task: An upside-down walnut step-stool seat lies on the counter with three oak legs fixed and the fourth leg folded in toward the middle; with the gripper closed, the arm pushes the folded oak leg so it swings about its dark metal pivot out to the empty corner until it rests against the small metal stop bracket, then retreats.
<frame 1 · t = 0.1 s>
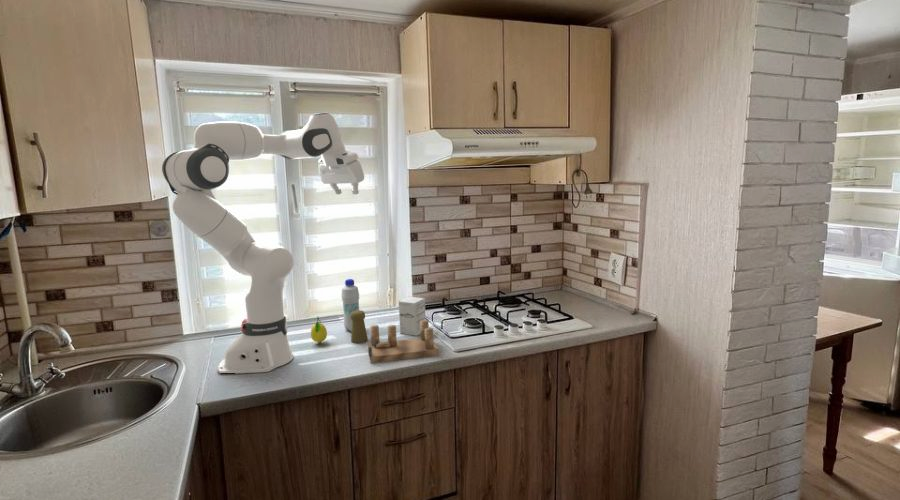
hand: (347, 193, 175), 52 cm above the worktop, tool tilted 20°, fingers open, 8 cm apart
bottle: (352, 330, 182), on the worktop
stool seat: (402, 352, 158), on the worktop
folding leg: (385, 336, 157), point 6 cm above the worktop, hinge at 0.0°
lemon: (319, 343, 169), on the worktop
cork: (359, 341, 170), on the worktop
supplement box: (413, 332, 177), on the worktop
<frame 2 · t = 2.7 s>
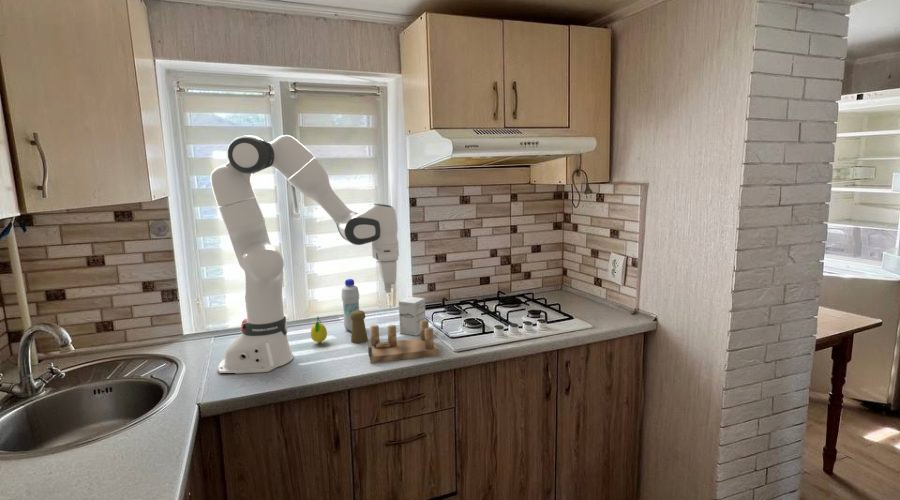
hand: (387, 291, 162), 19 cm above the worktop, tool pointing down, fingers closed
nothing on the worktop moved.
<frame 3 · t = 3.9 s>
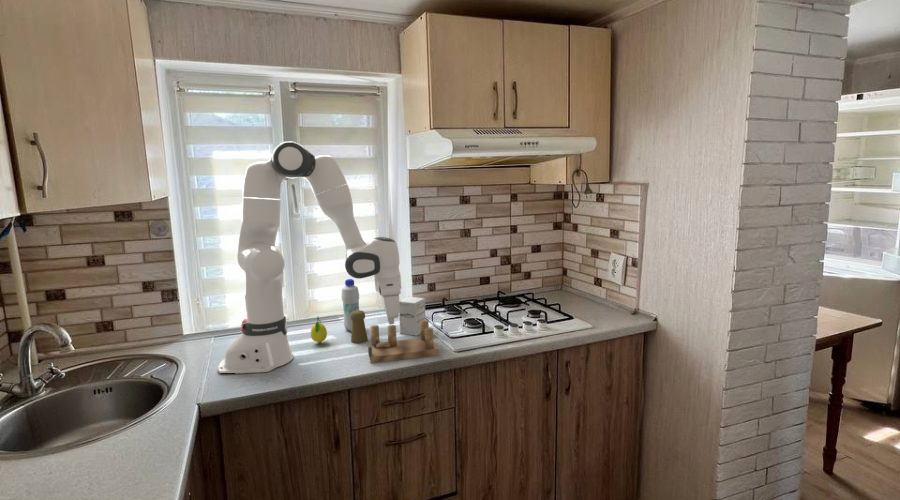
hand: (391, 323, 164), 8 cm above the worktop, tool pointing down, fingers closed
nothing on the worktop moved.
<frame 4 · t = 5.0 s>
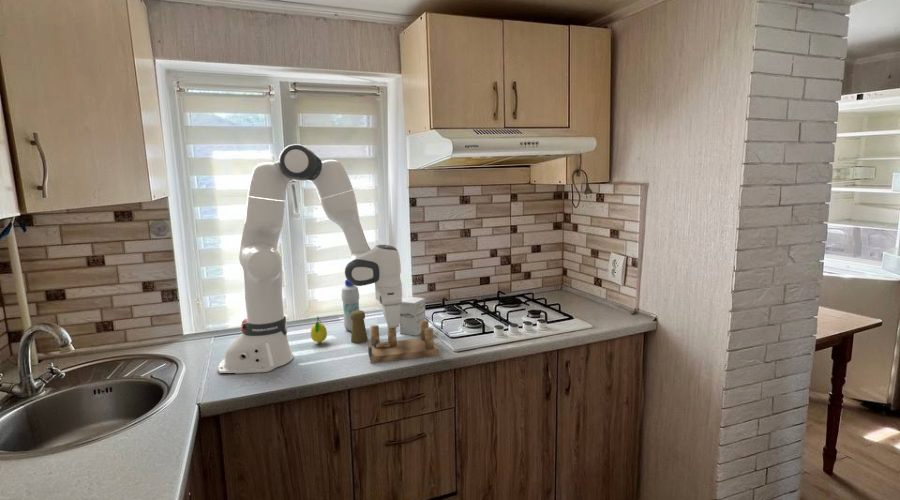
hand: (391, 332, 161), 6 cm above the worktop, tool pointing down, fingers closed
folding leg: (385, 336, 157), point 6 cm above the worktop, hinge at 0.2°, touching gripper
everything else where it was.
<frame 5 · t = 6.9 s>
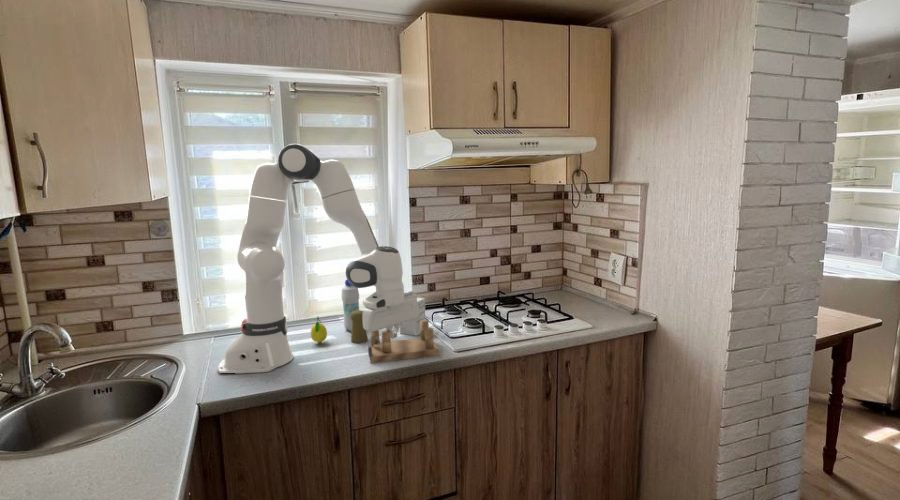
hand: (393, 337, 155), 6 cm above the worktop, tool pointing down, fingers closed
folding leg: (381, 339, 154), point 6 cm above the worktop, hinge at 55.9°, touching gripper
everything else where it was.
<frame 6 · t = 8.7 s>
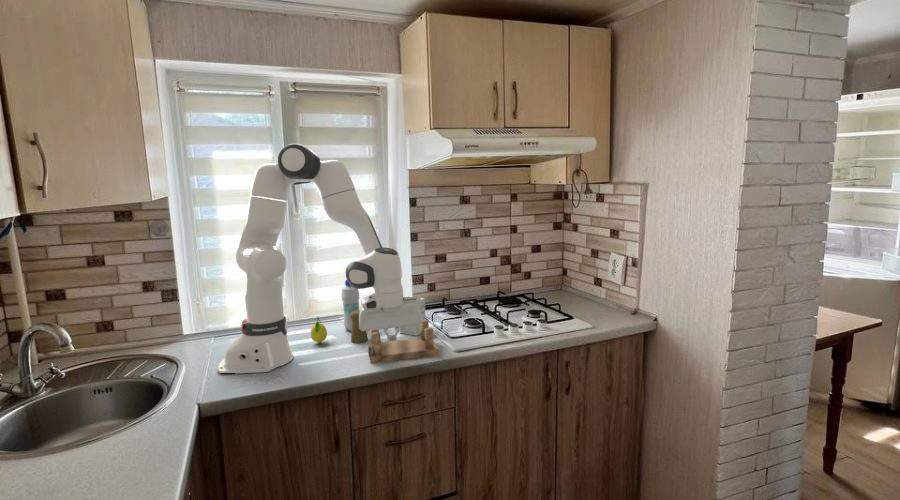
hand: (392, 340, 152), 6 cm above the worktop, tool pointing down, fingers closed
folding leg: (376, 340, 153), point 6 cm above the worktop, hinge at 91.5°
everything else where it was.
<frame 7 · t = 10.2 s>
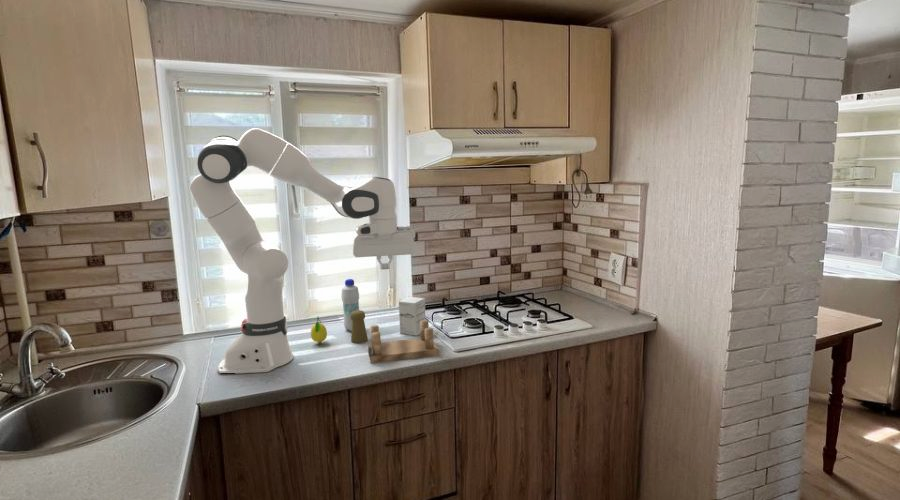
hand: (385, 269, 156), 28 cm above the worktop, tool pointing down, fingers closed
nothing on the worktop moved.
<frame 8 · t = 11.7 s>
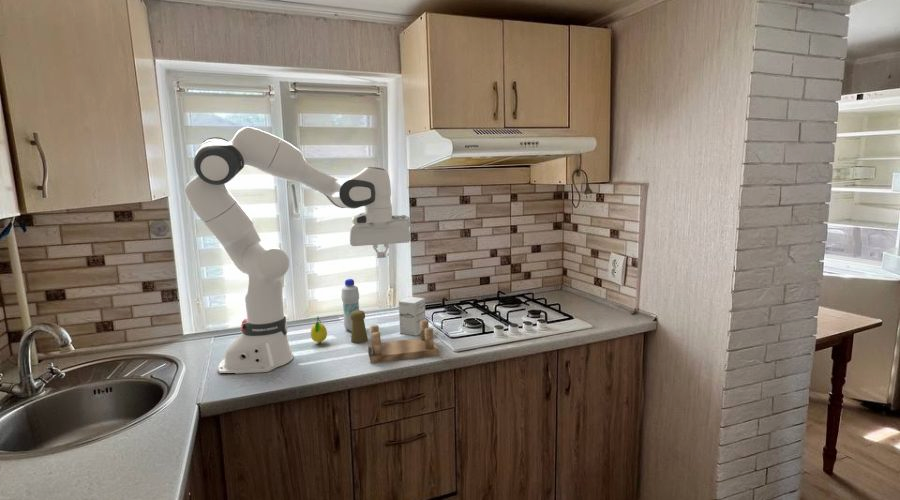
hand: (381, 257, 159), 31 cm above the worktop, tool pointing down, fingers closed
nothing on the worktop moved.
at the end: folding leg at +92° (first picture: +0°) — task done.
